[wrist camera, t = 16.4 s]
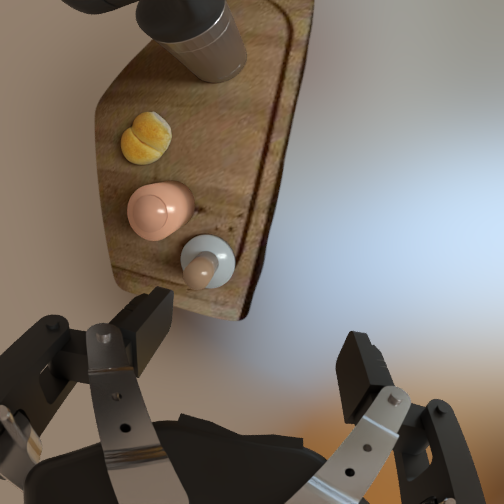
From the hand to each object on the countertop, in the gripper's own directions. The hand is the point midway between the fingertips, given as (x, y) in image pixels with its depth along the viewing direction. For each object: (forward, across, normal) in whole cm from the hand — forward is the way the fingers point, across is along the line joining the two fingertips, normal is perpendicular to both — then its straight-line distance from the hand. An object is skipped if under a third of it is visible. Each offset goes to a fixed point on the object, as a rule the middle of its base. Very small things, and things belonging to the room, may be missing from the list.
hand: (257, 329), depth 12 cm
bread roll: (+34, +23, -8) cm, 42 cm away
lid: (+33, +9, +11) cm, 36 cm away
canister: (+33, +17, +3) cm, 37 cm away
